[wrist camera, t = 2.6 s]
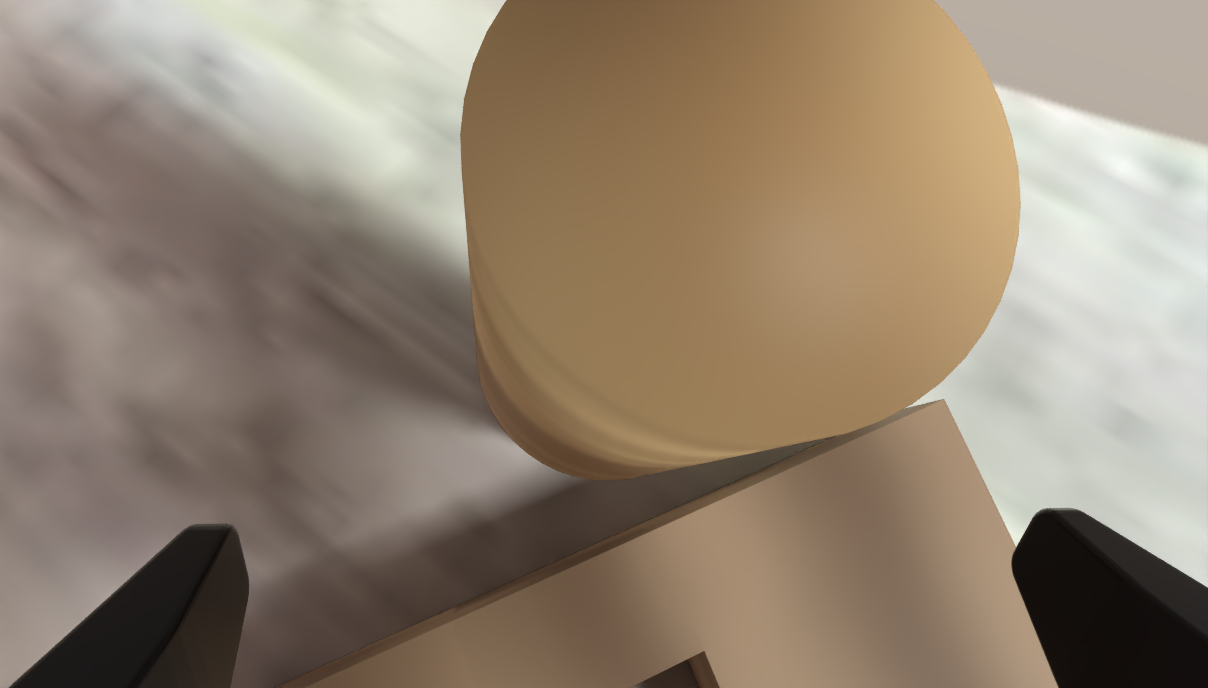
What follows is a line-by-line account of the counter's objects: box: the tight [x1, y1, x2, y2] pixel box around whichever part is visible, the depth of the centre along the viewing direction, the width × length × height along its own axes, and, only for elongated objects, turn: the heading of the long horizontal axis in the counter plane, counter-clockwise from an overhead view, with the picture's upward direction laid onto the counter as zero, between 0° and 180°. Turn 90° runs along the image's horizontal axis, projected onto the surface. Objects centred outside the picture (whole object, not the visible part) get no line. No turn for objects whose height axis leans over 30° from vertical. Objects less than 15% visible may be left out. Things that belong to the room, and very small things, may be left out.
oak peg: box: [460, 0, 1021, 481], centre depth 13 cm, size 4×4×14 cm
